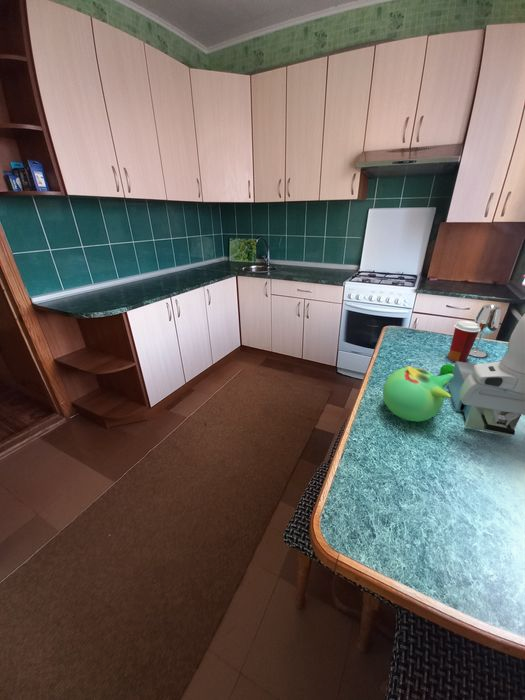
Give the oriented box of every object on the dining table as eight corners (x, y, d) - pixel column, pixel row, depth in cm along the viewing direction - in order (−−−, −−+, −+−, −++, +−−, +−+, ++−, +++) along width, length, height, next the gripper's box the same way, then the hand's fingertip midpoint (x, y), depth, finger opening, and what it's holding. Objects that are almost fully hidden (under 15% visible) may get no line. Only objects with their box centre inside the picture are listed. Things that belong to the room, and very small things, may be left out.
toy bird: (386, 389, 98) (394, 351, 91) (443, 405, 90) (456, 364, 83) (373, 420, 85) (382, 378, 78) (439, 442, 77) (455, 397, 70)
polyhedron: (447, 381, 101) (451, 370, 99) (435, 375, 105) (438, 363, 103) (457, 378, 103) (461, 367, 101) (445, 372, 107) (448, 360, 105)
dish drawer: (517, 450, 72) (530, 427, 69) (469, 440, 76) (479, 417, 72) (495, 406, 88) (504, 384, 84) (455, 399, 91) (463, 378, 88)
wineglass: (459, 349, 122) (474, 304, 113) (475, 347, 123) (492, 302, 114) (474, 358, 115) (492, 311, 106) (491, 356, 117) (510, 309, 107)
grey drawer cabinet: (502, 419, 84) (514, 392, 79) (456, 411, 88) (465, 384, 83) (487, 391, 96) (498, 367, 91) (447, 385, 100) (455, 361, 95)
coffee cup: (467, 356, 117) (479, 321, 110) (470, 365, 111) (483, 329, 104) (443, 352, 120) (454, 318, 113) (445, 361, 114) (456, 326, 107)
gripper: (570, 377, 66) (545, 424, 73) (466, 363, 73) (451, 407, 79) (586, 393, 61) (557, 441, 67) (472, 376, 68) (456, 422, 74)
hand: (499, 422), depth 73 cm, fingers closed
